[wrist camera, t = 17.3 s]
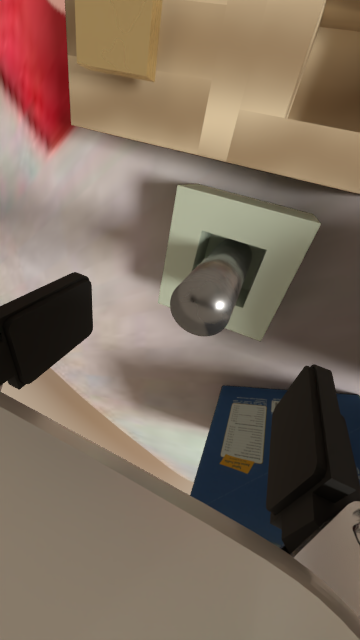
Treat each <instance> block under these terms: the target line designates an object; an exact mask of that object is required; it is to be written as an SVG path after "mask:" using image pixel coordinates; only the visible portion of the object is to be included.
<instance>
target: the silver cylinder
mask: <svg viewBox="0 0 360 640" xmlns="http://www.w3.org/2000/svg"><path fill="white" fill-rule="evenodd" d="M251 260H252V253H251V249H250V247H249V246H248V244H245V243H242V242H239V241H235V240H232V239H229V238H228V239H225V240H223V241H222V242H220V243H219V244H218V245H217V246H216V247H215V248H214V249H213V250H212V251H211V252H210V254H209V255H208V256H207V257H206V258H205V259H204V260H203V261H202V262H201V263H200V264H199V265H198V266H197V267H196V268H195V269H194V270H193V271H192V272H191V273H190V274H189V275H188V276H187V277H186V278H185V279H184V280H183V281H182V282H181V283H180V284H179V285H178V286H177V287H176V289H175V290H174V291H173V293H172V295H171V299H170V309H171V313H172V315H173V317H174V319H175V321H176V322H177V323H178V324H179V326H181V327H182V328H183V329H184V330H186V331H187V332H189V333H191V334H194V335H198V336H211V335H215V334H217V333H219V332H221V331H222V330H223V329H224V328H225V327H226V326H227V324H228V322H229V320H230V317H231V315H232V312H233V309H234V307H235V304H236V301H237V299H238V296H239V293H240V290H241V288H242V285H243V282H244V280H245V277H246V274H247V272H248V269H249V266H250V263H251Z"/></svg>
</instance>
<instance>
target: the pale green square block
mask: <svg viewBox="0 0 360 640" xmlns="http://www.w3.org/2000/svg"><path fill="white" fill-rule="evenodd" d="M320 225H321V223H320V222H319V221H318V219H317V218H316V217H315V216H314V215H313V214H310V213H307V212H303V211H299V210H295V209H291V208H288V207H284V206H280V205H276V204H273V203H269V202H265V201H261V200H257V199H254V198H250V197H246V196H242V195H238V194H235V193H231V192H227V191H223V190H219V189H216V188H212V187H208V186H204V185H200V184H187V185H178V186H177V192H176V198H175V203H174V209H173V215H172V221H171V227H170V233H169V239H168V245H167V251H166V257H165V263H164V269H163V275H162V281H161V287H160V293H159V299H158V303H159V304H162V305H165V306H167V307H170V299H171V295H172V293H173V291H174V290H175V289H176V287H177V286H178V285H179V284H180V283H181V282H182V281H183V280H184V279H185V278H186V277H187V276H188V275H189V274H190V273H191V272H192V271H193V270H194V269H195V268H196V267H197V266H198V265H199V264H200V263H201V262H202V261H203V260H204V259H205V258H206V257H207V256H208V255H209V254H210V252H211V251H212V250H213V249H214V248H215V247H216V246H217V245H218V244H219V243H220V242H222V241H223V240H225V239H228V238H229V239H232V240H235V241H239V242H242V243H245V244H248V246H249V247H250V249H251V253H252V260H251V263H250V266H249V269H248V272H247V274H246V277H245V280H244V282H243V285H242V288H241V290H240V293H239V296H238V299H237V301H236V304H235V307H234V309H233V312H232V315H231V317H230V320H229V322H228V324H227V326H226V327H225V328H226V329H228V330H231V331H234V332H236V333H239V334H242V335H244V336H247V337H250V338H252V339H255V340H258V341H260V342H261V340H262V338H263V336H264V334H265V332H266V330H267V328H268V327H269V325H270V323H271V321H272V319H273V317H274V315H275V313H276V311H277V309H278V307H279V305H280V303H281V301H282V299H283V297H284V295H285V293H286V291H287V289H288V287H289V285H290V284H291V282H292V280H293V278H294V276H295V274H296V272H297V270H298V268H299V266H300V264H301V262H302V260H303V258H304V256H305V254H306V252H307V250H308V248H309V246H310V244H311V243H312V241H313V239H314V237H315V235H316V233H317V231H318V229H319V227H320Z"/></svg>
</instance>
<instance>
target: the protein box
mask: <svg viewBox="0 0 360 640" xmlns="http://www.w3.org/2000/svg"><path fill="white" fill-rule="evenodd" d="M286 392H287V390H279V389H265V388H251V387H237V386H222V389H221V392H220V395H219V399H218V402H217V406H216V409H215V413H214V416H213V420H212V423H211V426H210V430H209V433H208V437H207V440H206V443H205V447H204V450H203V454H202V457H201V461H200V464H199V467H198V471H197V474H196V477H195V481H194V485H193V488H192V491H191V495H190V496H192V497H193V498H195V499H197V500H199V501H201V502H203V503H204V504H206V505H208V506H209V507H211V508H213V509H215V510H216V511H218V512H220V513H222V514H223V515H225V516H227V517H229V518H230V519H232V520H234V521H236V522H237V523H239V524H241V525H242V526H244V527H246V528H248V529H249V530H251V531H253V532H255V533H256V534H258V535H260V536H261V537H263V538H264V539H266V540H267V541H269V542H271V543H272V544H274V545H275V546H277V547H278V548H279V547H280V546H281V545H282V544H284V543H283V541H282V530H281V529H279V528H278V527H276V526H274V525H272V524H270V514H271V512H270V511H268V510H267V509H266V496H267V482H268V467H269V453H270V439H271V425H272V415H273V411H274V409H275V407H276V406H277V404H278V403H279V402H280V400H281V399H282V397H283V396H284V395H285V393H286ZM336 395H337V400H338V404H339V409H340V414H341V415H342V416H343V417H344V418H345V421H346V425H347V429H348V434H349V438H350V443H351V447H352V452H353V456H354V461H355V465H356V469H357V474H358V478H359V483H360V396H359V395H350V394H336Z"/></svg>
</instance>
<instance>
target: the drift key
mask: <svg viewBox="0 0 360 640" xmlns="http://www.w3.org/2000/svg"><path fill="white" fill-rule="evenodd" d="M162 2H163V0H75V23H76V52H77V64H79V65H80V66H82V67H84V68H86V69H88V70H91V71H96V72H102V73H107V74H113V75H118V76H123V77H129V78H134V79H140V80H145V81H150V82H155V73H156V63H157V53H158V43H159V32H160V22H161V12H162Z"/></svg>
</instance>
